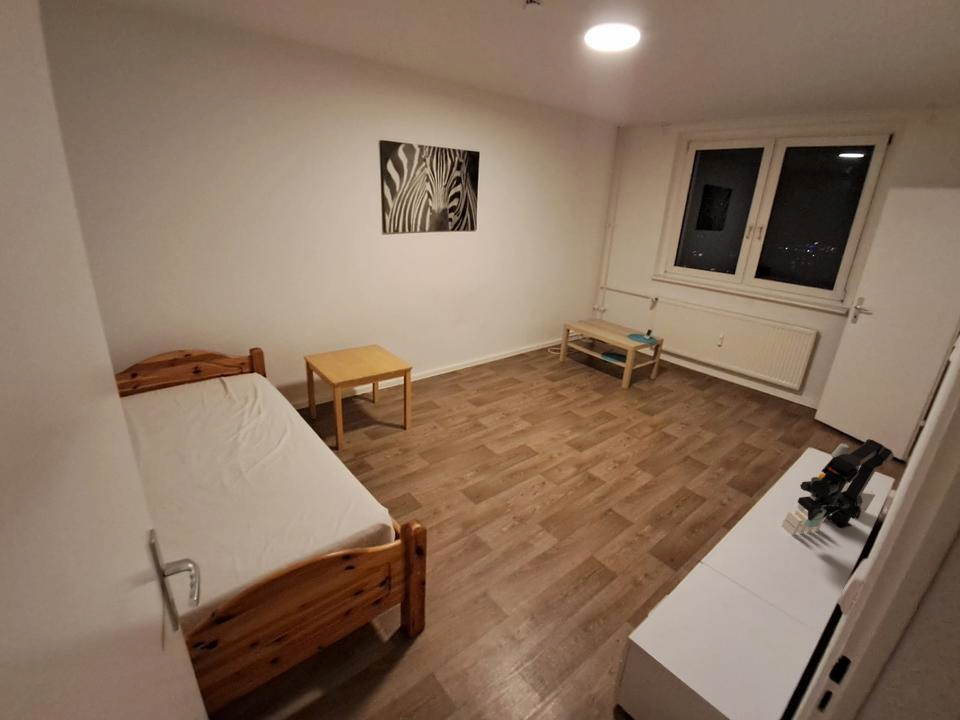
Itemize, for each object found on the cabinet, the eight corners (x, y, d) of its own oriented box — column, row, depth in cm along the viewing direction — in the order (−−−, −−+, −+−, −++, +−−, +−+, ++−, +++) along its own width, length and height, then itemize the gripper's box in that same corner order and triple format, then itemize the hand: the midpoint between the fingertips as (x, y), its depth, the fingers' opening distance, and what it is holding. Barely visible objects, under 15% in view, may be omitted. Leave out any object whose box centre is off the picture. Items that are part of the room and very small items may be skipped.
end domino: (807, 522, 183) (814, 507, 180) (817, 531, 179) (826, 516, 175) (804, 522, 183) (811, 508, 179) (814, 531, 178) (823, 517, 175)
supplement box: (851, 505, 196) (864, 483, 190) (862, 517, 189) (876, 495, 183) (834, 502, 196) (846, 480, 191) (844, 514, 189) (858, 492, 184)
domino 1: (784, 525, 180) (791, 511, 177) (794, 535, 176) (802, 520, 172) (781, 526, 180) (788, 511, 176) (791, 535, 175) (799, 520, 172)
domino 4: (804, 524, 170) (812, 508, 166) (814, 522, 171) (822, 507, 168) (808, 527, 168) (816, 512, 165) (818, 526, 170) (826, 510, 166)
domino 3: (799, 523, 182) (807, 508, 179) (810, 532, 178) (818, 518, 174) (796, 523, 182) (804, 509, 178) (807, 533, 177) (815, 518, 174)
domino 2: (792, 524, 181) (799, 510, 178) (802, 533, 177) (810, 519, 173) (788, 524, 181) (796, 510, 177) (799, 534, 176) (807, 519, 173)
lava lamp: (826, 519, 186) (864, 453, 171) (805, 517, 185) (842, 451, 170) (812, 504, 194) (847, 439, 179) (792, 502, 194) (826, 437, 179)
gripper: (831, 471, 171) (814, 501, 178) (793, 475, 166) (778, 506, 173) (859, 490, 161) (840, 522, 168) (820, 496, 157) (802, 528, 163)
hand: (814, 518), depth 168 cm, fingers closed on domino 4, 5 cm apart
